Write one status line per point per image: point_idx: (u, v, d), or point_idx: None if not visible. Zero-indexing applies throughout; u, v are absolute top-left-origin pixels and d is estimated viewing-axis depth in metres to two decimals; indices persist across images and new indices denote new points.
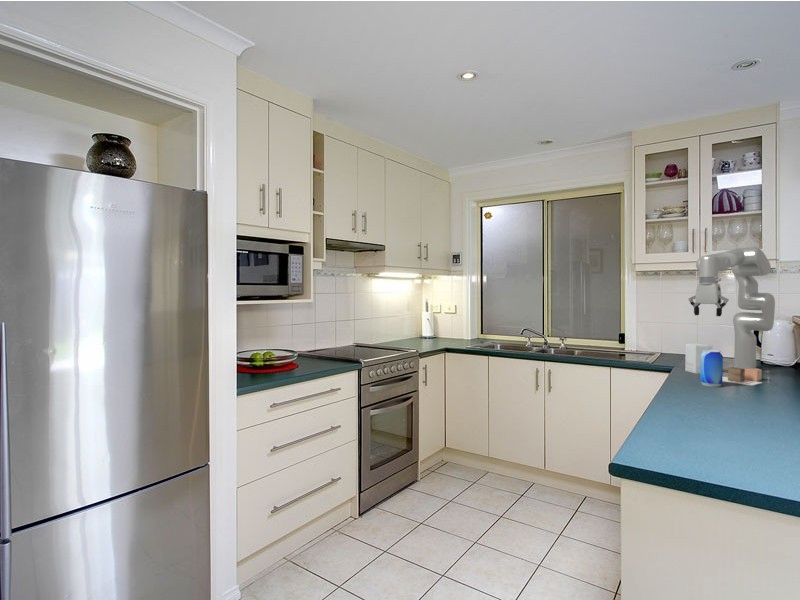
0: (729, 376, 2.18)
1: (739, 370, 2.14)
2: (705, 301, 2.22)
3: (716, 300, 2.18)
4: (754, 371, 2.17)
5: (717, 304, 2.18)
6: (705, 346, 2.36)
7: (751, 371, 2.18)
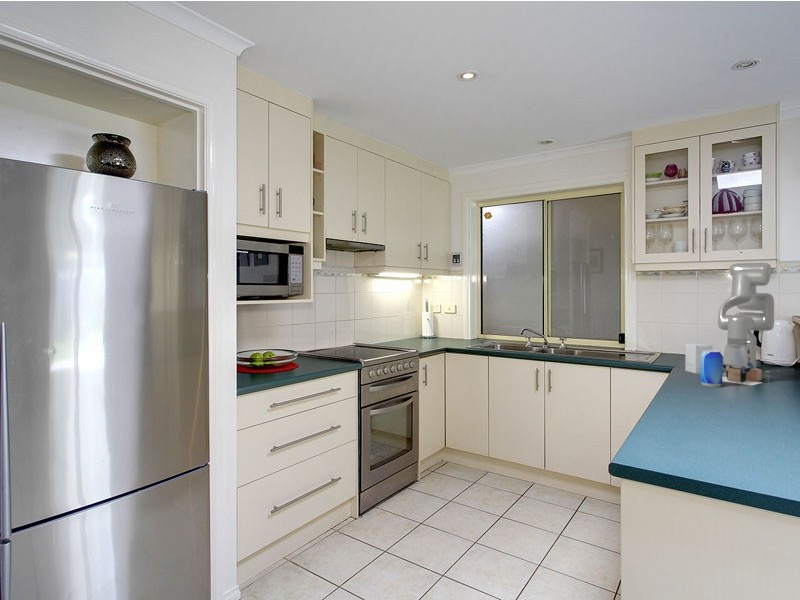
0: (729, 376, 2.18)
1: (739, 370, 2.14)
2: (733, 363, 2.17)
3: (746, 363, 2.12)
4: (754, 371, 2.17)
5: (743, 369, 2.14)
6: (705, 346, 2.36)
7: (751, 371, 2.18)
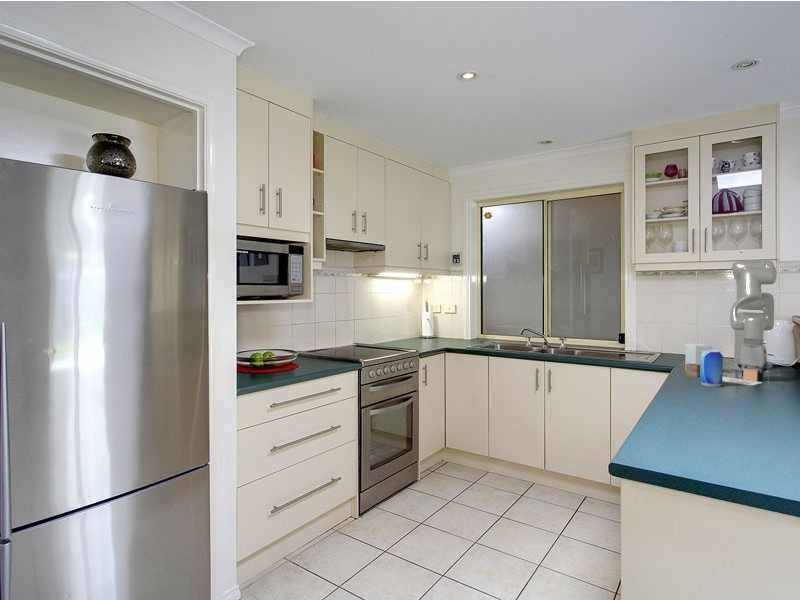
0: (687, 372, 2.30)
1: (696, 366, 2.26)
2: (750, 362, 2.19)
3: (762, 363, 2.15)
4: (754, 371, 2.17)
5: (760, 368, 2.17)
6: (705, 346, 2.36)
7: (751, 371, 2.18)
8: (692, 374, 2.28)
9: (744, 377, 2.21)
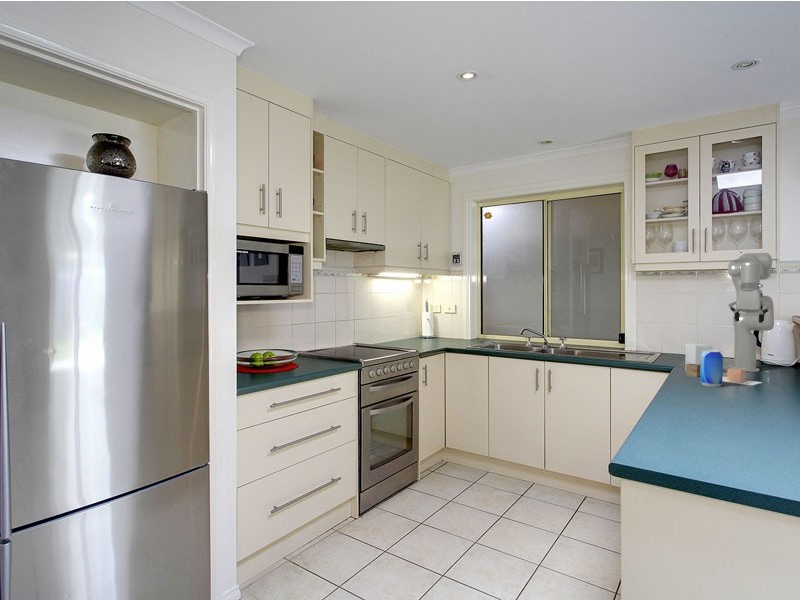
0: (687, 372, 2.30)
1: (696, 366, 2.26)
2: (746, 307, 2.20)
3: (758, 306, 2.16)
4: (738, 371, 2.14)
5: (759, 310, 2.17)
6: (705, 346, 2.36)
7: (735, 371, 2.15)
8: (692, 374, 2.28)
9: (728, 377, 2.18)
